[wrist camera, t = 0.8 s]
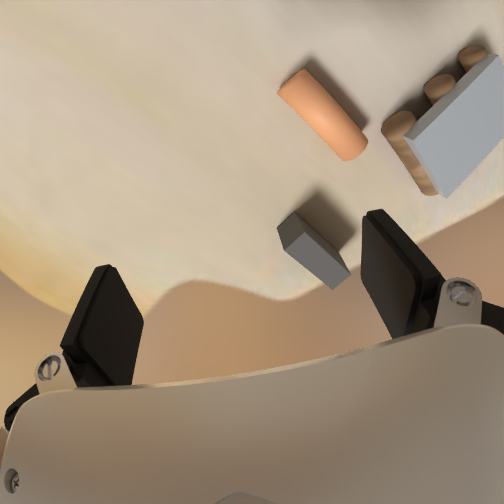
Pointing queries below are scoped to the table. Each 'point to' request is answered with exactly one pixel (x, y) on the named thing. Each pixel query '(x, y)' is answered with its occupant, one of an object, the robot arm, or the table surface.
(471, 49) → the roller
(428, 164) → the slab
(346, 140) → the roller
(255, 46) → the table surface
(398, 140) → the roller
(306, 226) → the block
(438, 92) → the roller mid
